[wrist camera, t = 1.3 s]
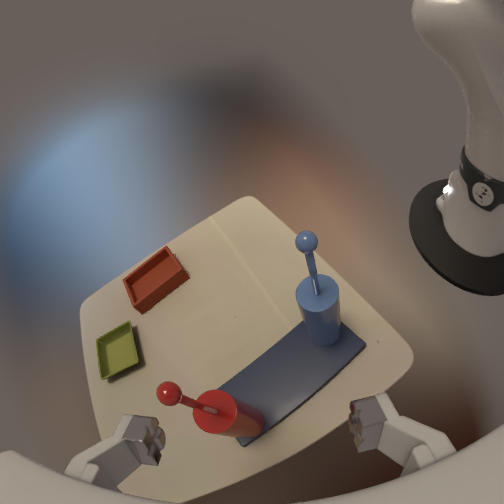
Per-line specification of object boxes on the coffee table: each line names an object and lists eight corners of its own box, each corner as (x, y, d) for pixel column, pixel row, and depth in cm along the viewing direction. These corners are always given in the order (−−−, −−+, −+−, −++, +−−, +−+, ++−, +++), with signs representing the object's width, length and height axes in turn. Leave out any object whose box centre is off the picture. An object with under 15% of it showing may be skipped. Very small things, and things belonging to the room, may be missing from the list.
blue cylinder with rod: (325, 310, 36) (305, 207, 23) (347, 330, 34) (345, 231, 20) (301, 331, 36) (265, 237, 22) (323, 353, 33) (303, 267, 19)
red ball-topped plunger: (251, 399, 31) (173, 349, 18) (272, 425, 28) (202, 399, 15) (224, 418, 30) (128, 381, 17) (243, 445, 28) (152, 432, 14)
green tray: (146, 366, 40) (138, 361, 38) (108, 384, 39) (100, 380, 37) (136, 324, 46) (129, 319, 44) (102, 344, 45) (95, 339, 43)
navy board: (321, 307, 38) (321, 304, 37) (365, 346, 32) (366, 343, 32) (209, 397, 34) (206, 396, 33) (244, 447, 28) (242, 446, 27)
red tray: (173, 254, 55) (166, 245, 52) (189, 277, 49) (182, 268, 47) (130, 287, 52) (122, 279, 50) (142, 314, 47) (133, 307, 45)
